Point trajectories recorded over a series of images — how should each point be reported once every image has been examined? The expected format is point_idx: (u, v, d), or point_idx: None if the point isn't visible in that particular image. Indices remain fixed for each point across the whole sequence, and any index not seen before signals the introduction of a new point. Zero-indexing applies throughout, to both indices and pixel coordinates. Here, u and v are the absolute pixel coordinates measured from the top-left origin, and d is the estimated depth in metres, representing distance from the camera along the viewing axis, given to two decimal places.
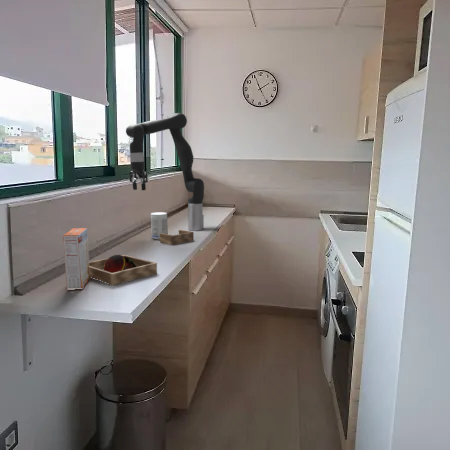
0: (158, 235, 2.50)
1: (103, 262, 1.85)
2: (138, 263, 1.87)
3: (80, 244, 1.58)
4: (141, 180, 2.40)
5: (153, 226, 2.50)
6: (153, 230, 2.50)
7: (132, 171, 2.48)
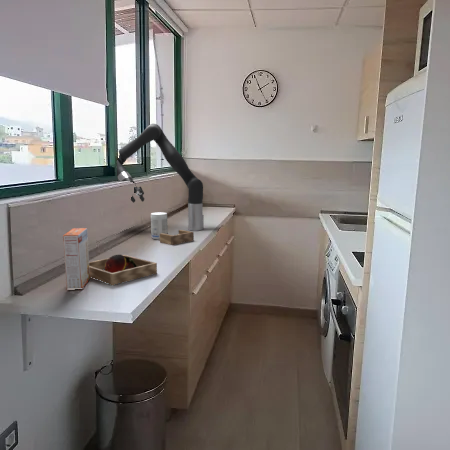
0: (158, 235, 2.50)
1: (103, 262, 1.85)
2: (138, 263, 1.87)
3: (80, 244, 1.58)
4: None
5: (153, 226, 2.50)
6: (153, 230, 2.50)
7: (139, 187, 2.71)
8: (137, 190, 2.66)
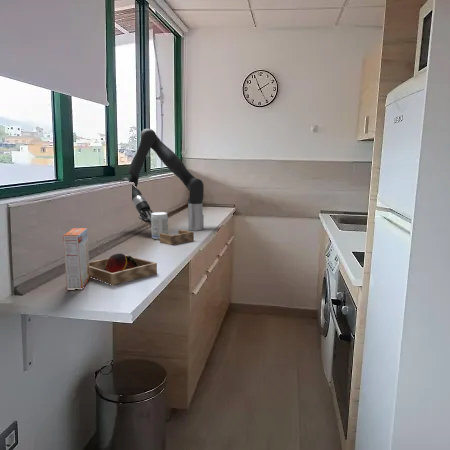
0: (158, 235, 2.49)
1: (103, 262, 1.85)
2: (138, 263, 1.87)
3: (80, 244, 1.58)
4: None
5: (153, 226, 2.49)
6: (153, 230, 2.50)
7: None
8: (150, 215, 2.58)
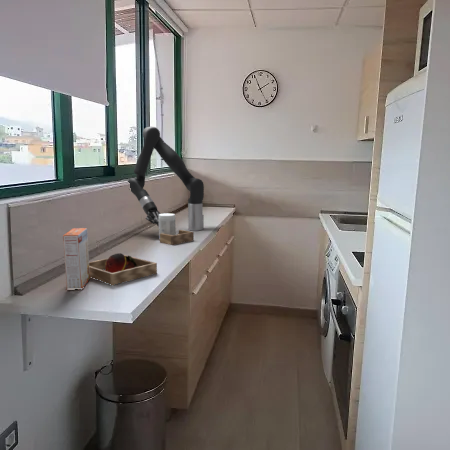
0: None
1: (103, 262, 1.85)
2: (138, 263, 1.87)
3: (80, 244, 1.58)
4: None
5: (161, 227, 2.45)
6: (161, 231, 2.45)
7: None
8: (158, 216, 2.54)
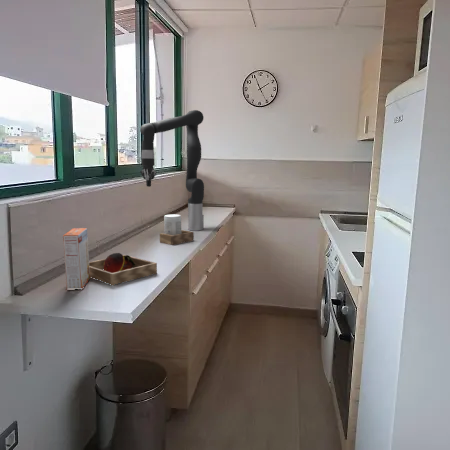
0: None
1: (103, 262, 1.85)
2: (138, 263, 1.87)
3: (80, 244, 1.58)
4: (148, 177, 2.62)
5: (167, 229, 2.42)
6: (167, 233, 2.42)
7: None
8: None
